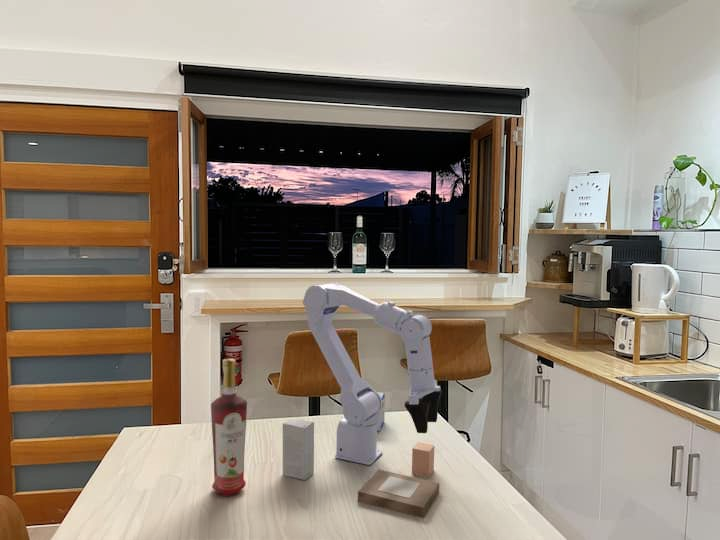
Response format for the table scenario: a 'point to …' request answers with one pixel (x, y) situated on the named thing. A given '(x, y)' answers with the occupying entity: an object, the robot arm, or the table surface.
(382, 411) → the medicine box
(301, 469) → the skincare box
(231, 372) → the liquor
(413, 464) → the terracotta block
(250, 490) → the table surface
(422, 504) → the base board
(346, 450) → the robot arm
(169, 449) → the table surface
